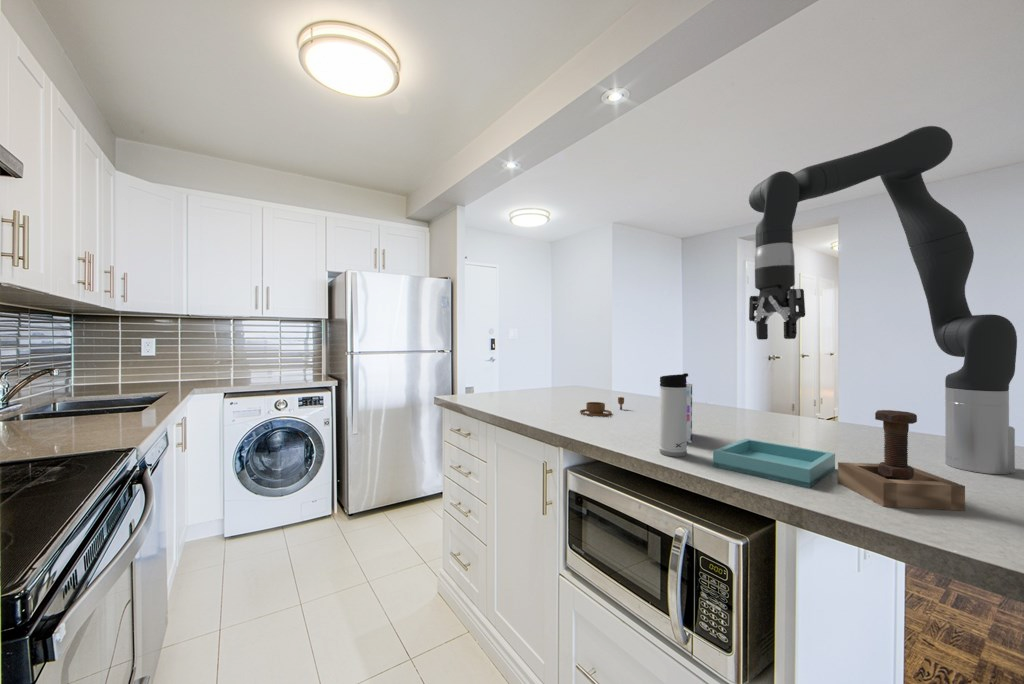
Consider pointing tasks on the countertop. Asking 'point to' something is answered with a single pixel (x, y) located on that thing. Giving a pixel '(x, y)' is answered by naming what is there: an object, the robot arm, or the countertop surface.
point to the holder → (902, 488)
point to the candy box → (689, 412)
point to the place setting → (599, 408)
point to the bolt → (896, 444)
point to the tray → (775, 461)
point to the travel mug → (673, 415)
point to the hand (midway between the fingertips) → (775, 339)
